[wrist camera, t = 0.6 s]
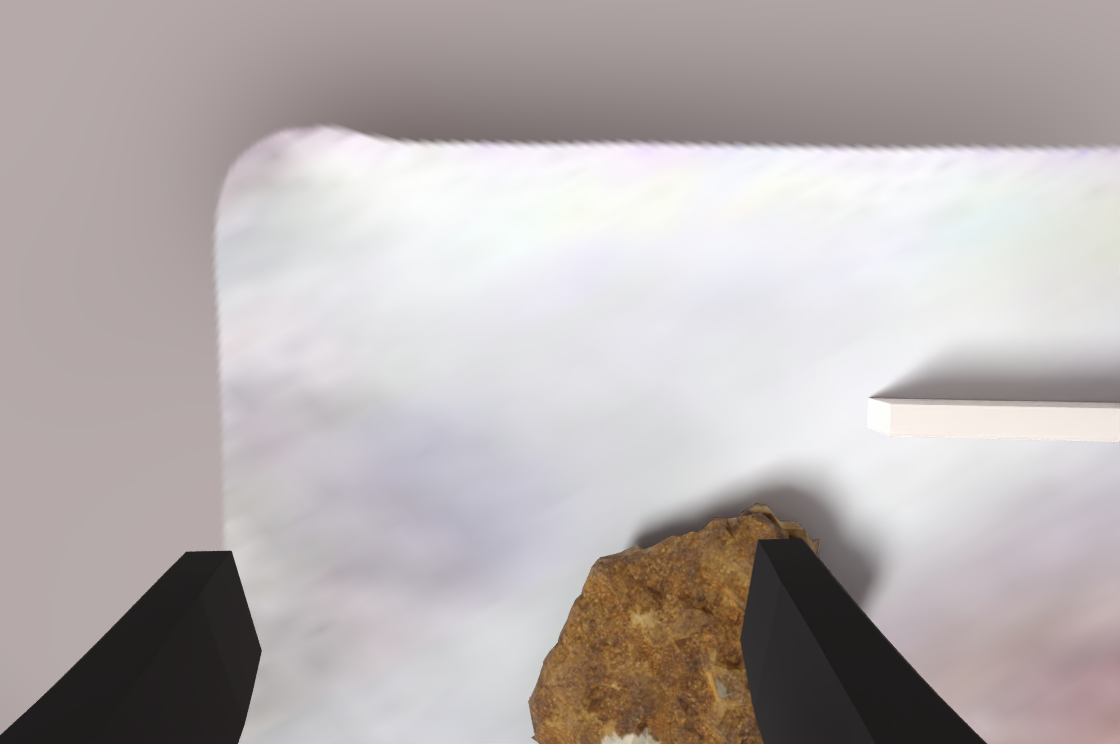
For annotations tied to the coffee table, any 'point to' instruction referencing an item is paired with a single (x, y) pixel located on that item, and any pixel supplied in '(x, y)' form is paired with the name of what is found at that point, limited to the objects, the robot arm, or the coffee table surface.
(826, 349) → the coffee table surface
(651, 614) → the decorative rock
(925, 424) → the box
